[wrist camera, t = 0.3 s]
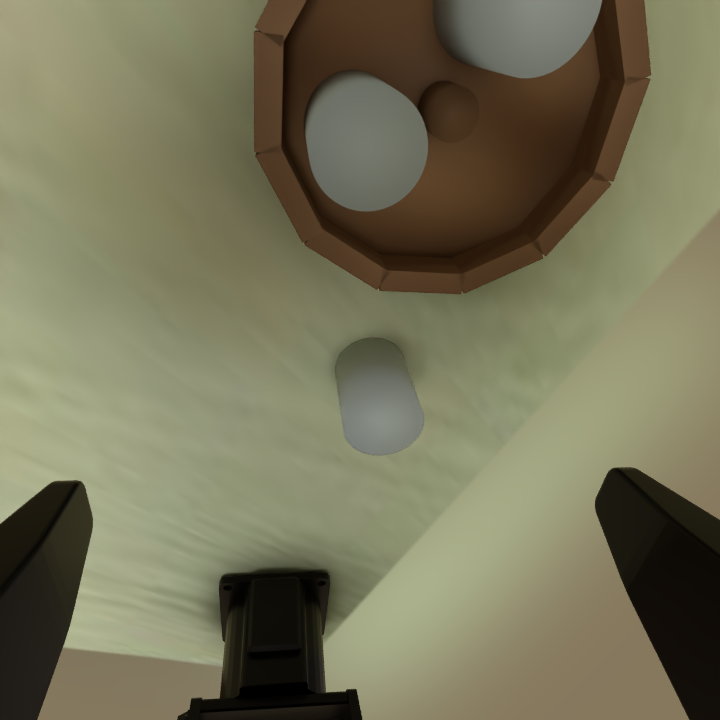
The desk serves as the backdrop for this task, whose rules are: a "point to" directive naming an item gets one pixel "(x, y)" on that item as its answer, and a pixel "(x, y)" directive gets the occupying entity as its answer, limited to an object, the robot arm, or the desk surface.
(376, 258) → the walnut tray
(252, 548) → the desk surface
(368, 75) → the seated bead
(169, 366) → the desk surface
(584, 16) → the seated bead
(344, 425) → the bead loose
